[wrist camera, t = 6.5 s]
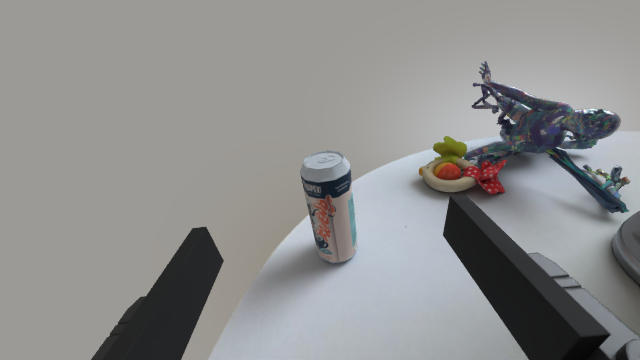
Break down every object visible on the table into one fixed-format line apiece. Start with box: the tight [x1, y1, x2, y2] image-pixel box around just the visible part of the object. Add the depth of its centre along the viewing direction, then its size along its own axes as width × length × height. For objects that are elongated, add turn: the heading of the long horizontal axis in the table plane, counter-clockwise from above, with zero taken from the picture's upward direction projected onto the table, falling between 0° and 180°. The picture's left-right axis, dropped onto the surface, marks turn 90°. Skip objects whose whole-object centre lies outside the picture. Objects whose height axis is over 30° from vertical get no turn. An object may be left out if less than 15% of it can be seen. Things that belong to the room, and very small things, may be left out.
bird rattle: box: [419, 136, 507, 194], centre depth 34 cm, size 6×11×9 cm
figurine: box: [463, 61, 631, 213], centre depth 33 cm, size 20×18×18 cm
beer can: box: [300, 150, 357, 263], centre depth 24 cm, size 5×5×12 cm
